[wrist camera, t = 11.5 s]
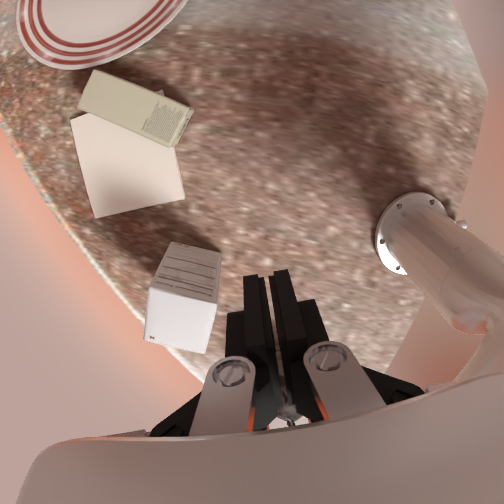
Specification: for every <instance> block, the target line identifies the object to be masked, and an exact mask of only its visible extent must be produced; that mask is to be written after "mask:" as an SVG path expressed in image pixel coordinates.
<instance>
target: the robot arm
mask: <svg viewBox="0 0 504 504" xmlns="http://www.w3.org/2000/svg"><path fill="white" fill-rule="evenodd" d="M397 205H398V206H397ZM466 227H467V224H466V221H465V220H460V221H457V222H456V221H454V220H453V219H451V218H450V217H448V216H447V213H446V210H445V208H444V206H443V205H442V204H441V202H440V201H439V200H437V199H436V198H435V197H433V196H432V195H430V194H427V193H424V192H409V193H406V194H403V195H401V196H400V197H398V198H396V199H395V200H394V201H393V202H391V203H390V204H389V205H388V207H387V208H386V209H385V210H384V212H383V213H382V215H381V217H380V219H379V221H378V224H377V227H376V232H375V248H376V251H377V254H378V257H379V258H380V260H381V261H382V263H383V264H384V265H385V266H386V267H387V268H388V269H390V270H391V271H393V272H395V273H399V274H407V275H408V276H409V277H410V278H411V279H412V280H413V281H414V283H415V284H416V285H417V286H418V287H419V288H420V290H421V291H422V292H423V293H424V294H425V295H426V297H427V298H428V299H429V300H430V301H431V302H432V304H433V305H434V306H435V307H436V308H437V309H438V311H439V312H440V313H441V314H442V316H443V317H444V318H445V319H446V320H447V322H449V324H450V325H451V326H452V327H454V328H455V329H457V330H459V331H461V332H464V333H468V334H486V335H485V337H484V339H483V341H482V342H481V344H480V345H479V347H478V348H477V350H476V352H475V353H474V355H473V356H472V357H471V359H470V360H469V361H468V362H467V364H466V365H465V366H464V368H463V369H462V370H461V372H460V373H459V374H458V375H457V377H456V378H455V379H454V380H453V381H451V382H445V383H438V384H430V385H427V387H426V389H421V388H420V387H418V386H416V385H414V384H412V383H408V382H406V381H403V380H399V379H397V378H394V377H391V376H388V375H385V374H383V373H380V372H377V371H374V370H372V369H369V368H366V367H363V366H361V365H360V364H359V362H358V361H357V359H356V358H355V356H354V355H353V353H352V352H351V350H350V349H349V348H348V347H347V346H346V345H344V344H342V343H339V342H335V341H329V338H328V335H327V332H326V330H325V327H324V324H323V321H322V318H321V316H320V313H319V310H318V307H317V305H316V302H315V300H314V299H311V300H305V301H300V302H297V300H296V296H295V293H294V289H293V286H292V282H291V279H290V275H289V272H288V269H286V270H280V271H273V272H274V275H273V276H268V277H269V283H270V289H271V296H272V302H273V308H274V315H275V321H276V327H277V334H278V340H279V346H280V353H281V359H282V365H283V372H284V378H285V385H286V391H287V397H288V404H289V406H291V405H295V408H296V414H297V413H298V414H300V415H302V416H304V417H306V418H308V422H309V424H303V425H298V426H291V427H284V428H278V429H270V430H269V424H270V423H271V422H272V420H274V419H275V418H276V417H278V416H279V415H278V407H284V405H283V398H282V391H281V384H280V377H279V370H278V363H277V355H276V348H275V341H274V335H273V329H272V323H271V317H270V311H269V305H268V299H267V293H266V287H265V281H264V277H260V278H258V274H255V275H249V276H243V290H244V311H238V312H231V313H228V314H227V327H226V348H225V358H223V359H220V360H219V361H217V362H215V363H214V364H213V365H212V366H211V367H210V369H209V371H208V373H207V376H206V379H205V383H204V386H203V389H202V391H201V392H200V393H199V394H198V395H196V396H195V397H194V398H193V399H191V400H190V401H189V402H187V403H186V404H184V405H183V406H182V407H181V408H179V409H178V410H176V411H175V412H174V413H172V414H171V415H170V416H168V417H167V418H166V419H164V420H163V421H161V422H160V423H159V424H157V426H155V427H154V428H153V429H152V431H151V432H146V431H145V430H139V431H133V432H127V433H121V434H115V435H108V436H101V437H86V438H78V439H71V440H67V441H64V442H60V443H57V444H54V445H52V446H49V447H47V448H46V449H44V450H43V451H42V452H41V453H40V454H39V455H38V457H37V458H36V460H35V461H34V462H33V464H32V466H31V468H30V470H29V472H28V474H27V476H26V478H25V481H24V483H23V485H22V488H21V491H20V494H19V496H18V499H17V502H16V504H504V256H503V255H502V254H500V253H499V252H498V251H496V250H495V249H493V248H492V247H490V246H489V245H488V244H486V243H485V242H483V241H482V240H480V239H479V238H477V237H476V236H475V235H473V234H472V233H470V232H469V231H467V230H466Z"/></svg>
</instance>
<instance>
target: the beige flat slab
mask: <svg viewBox="0 0 504 504" xmlns="http://www.w3.org/2000/svg"><path fill="white" fill-rule="evenodd" d="M156 92H157V93H159V94H161V95H163V96H164V92H163V90H160V91H156ZM70 121H71V126H72V131H73V136H74V140H75V145H76V149H77V154H78V158H79V162H80V166H81V170H82V174H83V178H84V182H85V185H86V189H87V193H88V196H89V200H90V203H91V206H92V210H93V213H94V216H95V219H97V218H101V217H105V216H109V215H113V214H117V213H122V212H126V211H130V210H135V209H139V208H144V207H148V206H153V205H158V204H162V203H167V202H172V201H177V200H182V199H185V193H184V189H183V185H182V180H181V176H180V171H179V167H178V162H177V157H176V153H175V148H174V146H173V147H171V148H167V147H165V146H163V145H161V144H158V143H156V142H154V141H152V140H150V139H147V138H145V137H143V136H141V135H139V134H136V133H134V132H132V131H130V130H127V129H125V128H123V127H121V126H118V125H116V124H114V123H111V122H109V121H107V120H104V119H102V118H100V117H97V116H95V115H93V114H90V113H87V114H85V115H82V116H79V117H77V118H74V119H72V120H70Z"/></svg>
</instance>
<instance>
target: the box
mask: <svg viewBox="0 0 504 504" xmlns="http://www.w3.org/2000/svg"><path fill="white" fill-rule="evenodd" d="M77 109H80V110H83V111H85V112H88V113H90V114H93V115H95V116H97V117H100V118H102V119H104V120H107V121H109V122H111V123H114V124H116V125H118V126H121V127H123V128H125V129H127V130H130V131H132V132H134V133H136V134H139V135H141V136H143V137H145V138H147V139H150V140H152V141H154V142H156V143H158V144H161V145H163V146H165V147H167V148H171V147H173V146H175V145H176V144H177V143H178V141H179V139H180V137H181V135H182V133H183V131H184V129H185V127H186V125H187V123H188V121H189V119H190V117H191V115H192V114H193V112H194V109H193V108H191V107H188V106H186V105H184V104H182V103H180V102H177V101H175V100H173V99H170V98H168V97H166V96H163V95H161V94H159V93H157V92H154V91H152V90H149V89H147V88H144V87H142V86H140V85H137V84H134V83H132V82H129V81H127V80H124V79H122V78H119V77H116V76H114V75H111V74H108V73H106V72H103V71H99V70H96V69H94V70H93V72H92V74H91V76H90V78H89V80H88V82H87V84H86V86H85V88H84V90H83V94H82V96H81V98H80V101H79V103H78V106H77Z"/></svg>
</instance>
